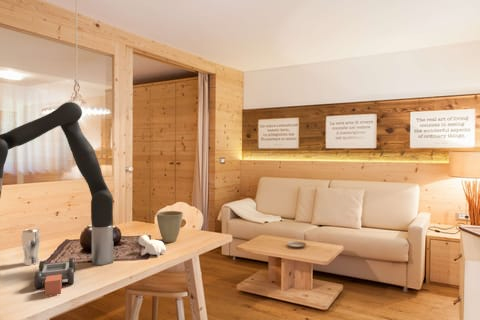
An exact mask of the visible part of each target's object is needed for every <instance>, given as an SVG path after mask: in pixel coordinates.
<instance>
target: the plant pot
mask: <svg viewBox="0 0 480 320" xmlns="http://www.w3.org/2000/svg"><path fill="white" fill-rule="evenodd" d="M183 216H184V213H183V212H182V211H179V210H178V211H177V210H167V211H160V212H157V213H156V221H157V225H158V229H159V234H160V236H161V239H162V242H163V243H174V242H176V241H177V239H178V237H179V235H180V230H181V228H182V222H183Z"/></svg>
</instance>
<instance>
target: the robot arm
mask: <svg viewBox="0 0 480 320" xmlns="http://www.w3.org/2000/svg"><path fill="white" fill-rule="evenodd" d="M82 115H83V110H82V108H81V106H80V105H79V104H78V103H75V102H74V101H73V102H72V101H68V102H64V103H62V104H60V105H59V106H58V107H57V108H56V109H55V110H53V111H51V112H49V113H47V114H45V115H43V116H41V117H39V118H36V119H34V120H31V121H29V122H26V123H24V124H22V125H19V126H17V127H15V128H12V129H11V130H9V131H7V132H4V133H1V134H0V198H1V197H2V188H3V177H4V167H5V164H6V162H7V158H8V153H9V150H12V149H13V148H16V147H19V146H23V145H25V144H27V143H30V142H32V141H33V140H35V139H37V138H39V137H41V136H43V135H44V134H46V133H48V132H49V131H52V130H53V129H56V128H58V127H60V128H61V130H62V132H63V133H64V136H65V138H66V141H67V143H68V146H69V149H70V151H71V154H72V156H73V160H74V162H75V164H76V166H77V169H78V170H79V172H80V174H81V175H82V177H83V180H85V182H86V184H87V187H88V189H89V192H90V196H91V201H90V216H91V217H90V221H91V264H92V265H95V266H103V265H108V264H112V263H114V215H113V214H114V212H113V211H114V210H113V209H114V197H113V195H112V192H110V189H109V187H108V186H107V183H106V182H105V179H104V176H103V171H102V170H101V166H100V162H99V159H98V157H97V154H96V151H95V149H94V147H93V146H92V145H91V143H90V141H89V140H88V139H87V137H85V135H84V133H83V132H82V128H81V127H80V123H79V120H80V119H81V118H82Z"/></svg>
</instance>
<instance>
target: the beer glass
mask: <svg viewBox="0 0 480 320" xmlns="http://www.w3.org/2000/svg"><path fill="white" fill-rule="evenodd" d="M40 237H41V236H40V229H37V228H34V229H33V228H31V229H25V230H23V231H22V233H21V246H22V250H23V261H22V262H23V263H22V265H23V266H34V265H37V264H39V263H40V260H39V255H38V254H39V248H40V242H41V241H40Z"/></svg>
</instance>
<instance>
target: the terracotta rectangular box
mask: <svg viewBox="0 0 480 320" xmlns="http://www.w3.org/2000/svg"><path fill="white" fill-rule="evenodd" d="M62 281H63V280H62V274H60V275H51V276H46V280H45V282H44V297H45V296H47V297H51V296H50V295H54V296H58V295H57V294H62V288H63V286H62V283H63V282H62Z"/></svg>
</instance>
